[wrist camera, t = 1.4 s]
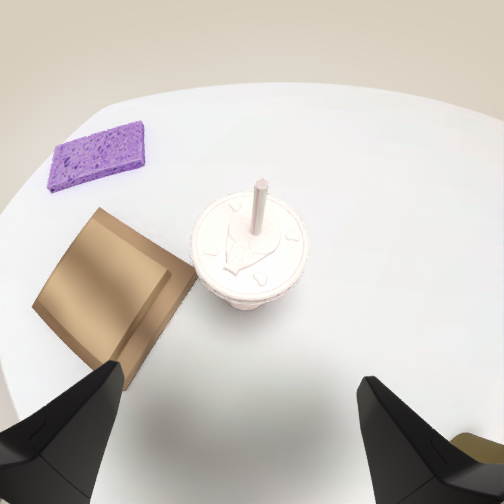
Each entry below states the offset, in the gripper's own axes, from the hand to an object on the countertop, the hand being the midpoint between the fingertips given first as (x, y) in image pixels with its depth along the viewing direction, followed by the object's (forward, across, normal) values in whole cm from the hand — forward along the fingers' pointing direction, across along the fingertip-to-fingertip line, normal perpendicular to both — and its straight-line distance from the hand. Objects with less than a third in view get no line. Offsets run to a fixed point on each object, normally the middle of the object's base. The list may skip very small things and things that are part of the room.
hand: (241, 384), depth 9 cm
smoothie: (+14, 0, +4) cm, 15 cm away
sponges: (+25, +19, -5) cm, 31 cm away
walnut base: (+13, +12, +5) cm, 18 cm away
